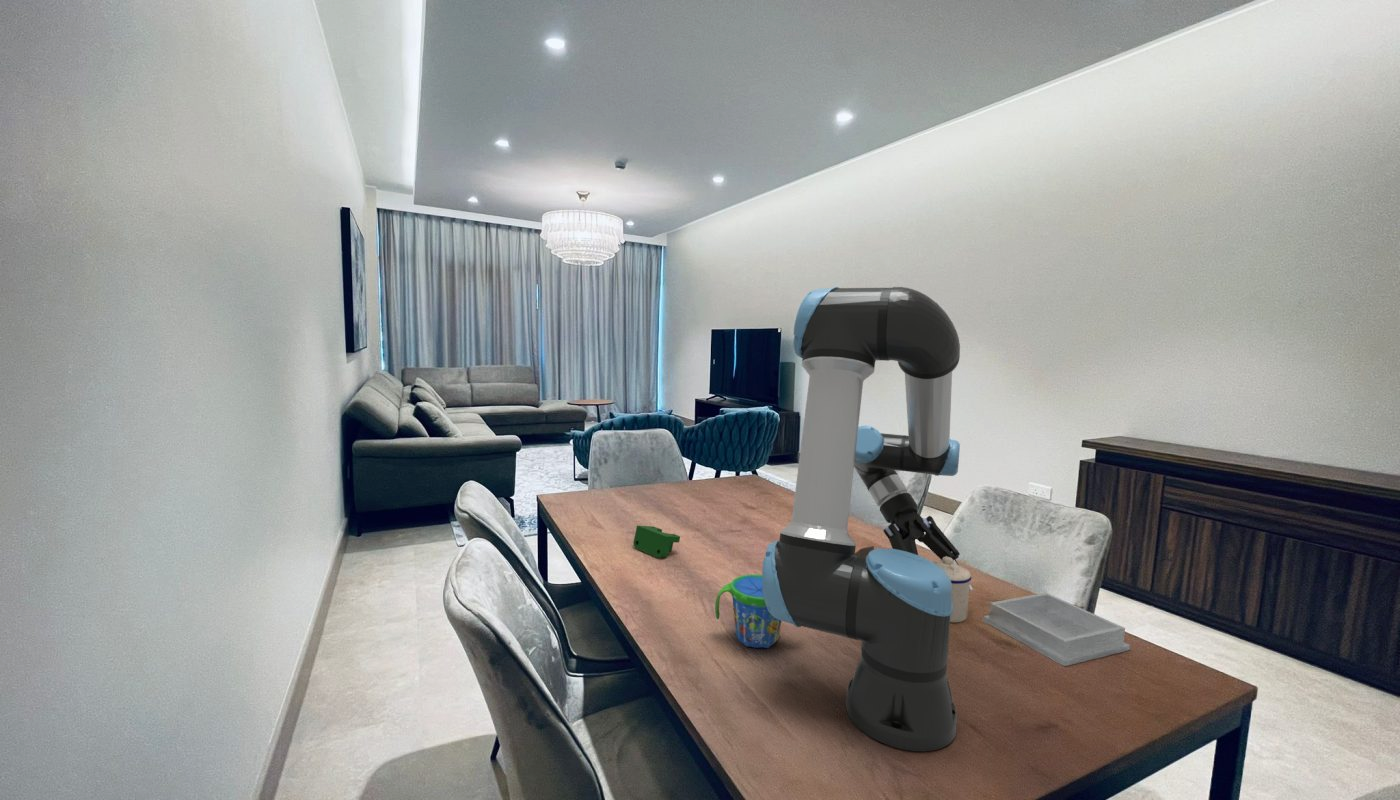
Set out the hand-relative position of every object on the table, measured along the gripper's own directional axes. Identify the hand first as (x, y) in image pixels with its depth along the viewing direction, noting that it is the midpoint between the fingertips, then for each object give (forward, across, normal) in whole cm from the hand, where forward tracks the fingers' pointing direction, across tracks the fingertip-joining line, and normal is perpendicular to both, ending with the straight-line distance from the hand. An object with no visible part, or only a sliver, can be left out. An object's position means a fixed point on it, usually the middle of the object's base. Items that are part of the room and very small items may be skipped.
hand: (953, 597), depth 114 cm
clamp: (-39, +36, -45) cm, 70 cm away
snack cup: (-5, +40, -11) cm, 42 cm away
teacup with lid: (+1, 0, -5) cm, 5 cm away
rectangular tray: (+13, -11, +7) cm, 18 cm away
